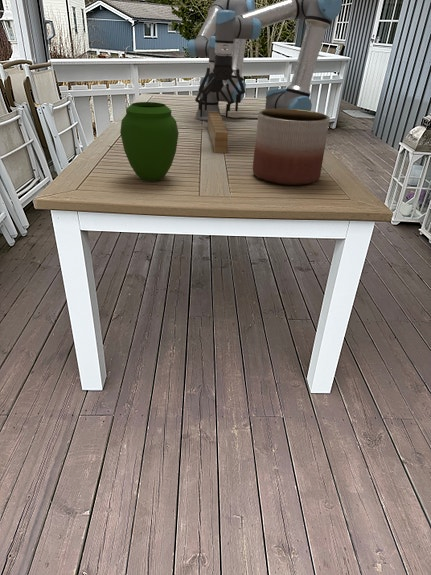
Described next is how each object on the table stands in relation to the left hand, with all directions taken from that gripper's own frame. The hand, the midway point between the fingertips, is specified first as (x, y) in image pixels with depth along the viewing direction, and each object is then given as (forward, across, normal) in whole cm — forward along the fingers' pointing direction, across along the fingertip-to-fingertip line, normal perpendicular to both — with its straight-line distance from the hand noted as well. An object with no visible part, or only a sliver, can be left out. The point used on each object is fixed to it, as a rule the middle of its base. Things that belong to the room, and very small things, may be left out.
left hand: (213, 117), depth 217 cm
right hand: (-9, 0, -38) cm, 39 cm away
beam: (+7, 0, -19) cm, 20 cm away
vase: (+9, -28, -85) cm, 90 cm away
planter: (+8, +22, -80) cm, 83 cm away
